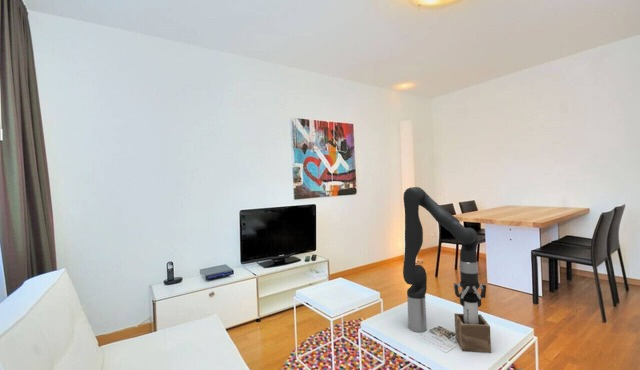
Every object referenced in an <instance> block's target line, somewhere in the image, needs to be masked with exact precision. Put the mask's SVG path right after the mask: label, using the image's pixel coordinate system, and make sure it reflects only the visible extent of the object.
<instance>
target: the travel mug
mask: <svg viewBox="0 0 640 370" xmlns="http://www.w3.org/2000/svg"><path fill="white" fill-rule="evenodd" d="M477 299H478V298H477V295H476V294H475V292H474V293H471V292H470V293H466V295H465V296H464V306H462V307H463V308H462V309H463V313H462V314H464V324H479V320H478V314H479V307H478V300H477Z"/></svg>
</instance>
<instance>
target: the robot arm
mask: <svg viewBox="0 0 640 370" xmlns="http://www.w3.org/2000/svg"><path fill="white" fill-rule="evenodd" d="M403 207H404V208H403V209H404V259H403V268H402V275H403V276H402V277H403V280H404V282H405V283H406V284H407V285H409V286H410V287H409V288H407V290H406V300H407V320H408V321H407V323H408V329H409V330H411V331H413V332H416V333H423V332H426V331H427V305H426V303H427V302H426V293H427V290H428V289H427V285H428V279H427V277H428V276H427V272H426V269H425V267H424V265H423V266H422V265H421V264H416V262H417V258H418V257H417V256H418V255H419V253H420V250H421V248H422V246H423V242H424V230H423V226H422V225H423V224H422V222H421V220H420V215H419V210H420V207H422V208H423V209H425V210H426V211H427V212H428V213H429V214H430V215H431V216H432V217H433V219H434V220H435V221H436V222H437V223H438V224H440V226H442V227H443V228H445V230H446V231H448V232H449V233H450V234H452V236H453V237H454V238H456V240H457V241H458V242H460V243H461V248H460V250H459V253H460V254H459V256H460V257H459V260H460V262H459V263H460V265H459V271H460V281H459V283H456V282H454V283H453V289H454V294H455V296H456V298H459V304H460V305H461V306H462V307H463V306H464V296H465V295H466V293H470V292H471V293H475V294H476V295H477V298H478V299H477V300H478V308H481V306H482V299H483V298H484V299H485V298H486V295H487V285H486V284H485V283H479V264H478V255H477V249H478V234H477V233H478V232H477V231H476V230H475V229H474V228H472V227H465V226H464V225H463V224H461V222H460V220H459V219H458V218H457V217H455V216H454V215H453V214H451V213H450V212H448V211H447V210H446V209H445V208H444V207H442V206H440V204H438V203H437V202H436V201H435V200H434V199H432V197H431V196H430V195H428V193H427V192H426V191H425V190H424V189H423V188H421V187H419V186H414V187H412V186H411V187H409V188H407V189H405V191H404V192H403ZM460 287H461V291H460V293H459V289H460ZM478 289H480V293H479V290H478Z"/></svg>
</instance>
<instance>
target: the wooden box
mask: <svg viewBox="0 0 640 370" xmlns="http://www.w3.org/2000/svg"><path fill="white" fill-rule="evenodd" d="M453 314H454V334H455V340H456V341H457V343H458V345H459V347H460V350H461V351H462V352H470V353H483V354H484V353H485V354H492V345H491V344H492V340H491V339H492V338H491V325H490V324H489V323H488V322H487V321H486V319H485V318H484V317H483V316H482V314H479V313H478V320H479V324H464V314H463V313H453Z"/></svg>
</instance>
